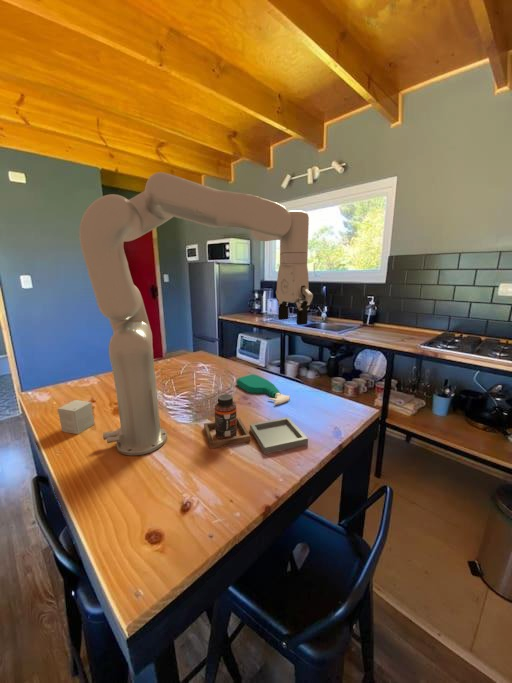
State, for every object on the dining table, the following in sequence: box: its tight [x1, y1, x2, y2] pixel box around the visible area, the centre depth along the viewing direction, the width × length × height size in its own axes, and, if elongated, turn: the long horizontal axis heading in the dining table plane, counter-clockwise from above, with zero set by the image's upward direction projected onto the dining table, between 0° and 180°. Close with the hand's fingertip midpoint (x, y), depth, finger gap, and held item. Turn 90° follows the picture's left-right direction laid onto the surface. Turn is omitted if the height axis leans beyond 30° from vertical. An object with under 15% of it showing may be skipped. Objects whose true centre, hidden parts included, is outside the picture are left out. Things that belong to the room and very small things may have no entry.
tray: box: [249, 416, 309, 455], centre depth 79 cm, size 12×12×2 cm
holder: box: [203, 416, 251, 450], centre depth 81 cm, size 11×11×2 cm
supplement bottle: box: [214, 393, 238, 440], centre depth 80 cm, size 6×6×11 cm
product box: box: [57, 399, 95, 435], centre depth 84 cm, size 6×6×7 cm
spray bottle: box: [236, 374, 291, 406], centre depth 109 cm, size 3×11×24 cm
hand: (292, 321), depth 84 cm, fingers open, 9 cm apart
